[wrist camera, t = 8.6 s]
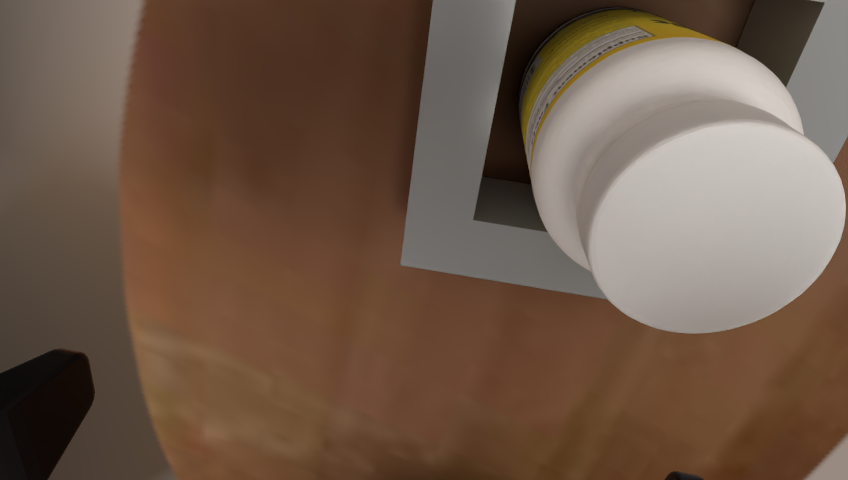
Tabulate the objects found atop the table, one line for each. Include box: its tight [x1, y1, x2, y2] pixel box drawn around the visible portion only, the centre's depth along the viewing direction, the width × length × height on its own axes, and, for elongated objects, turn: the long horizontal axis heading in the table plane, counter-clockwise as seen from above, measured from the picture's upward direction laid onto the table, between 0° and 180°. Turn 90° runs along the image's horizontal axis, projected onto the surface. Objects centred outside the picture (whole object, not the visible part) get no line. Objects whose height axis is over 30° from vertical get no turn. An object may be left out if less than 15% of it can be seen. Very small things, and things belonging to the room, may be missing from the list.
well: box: [400, 0, 848, 299], centre depth 16 cm, size 11×11×4 cm
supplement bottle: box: [518, 8, 846, 334], centre depth 13 cm, size 5×5×10 cm
